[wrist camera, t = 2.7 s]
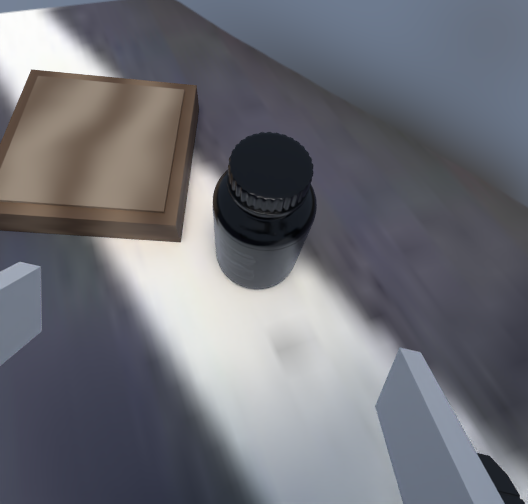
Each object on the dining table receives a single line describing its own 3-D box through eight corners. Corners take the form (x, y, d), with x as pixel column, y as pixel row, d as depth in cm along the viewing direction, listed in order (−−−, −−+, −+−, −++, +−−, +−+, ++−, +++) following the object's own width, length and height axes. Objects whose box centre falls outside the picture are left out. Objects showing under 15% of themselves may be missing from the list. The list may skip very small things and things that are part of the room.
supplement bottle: (308, 274, 30) (353, 198, 19) (232, 302, 29) (235, 237, 18) (276, 208, 33) (301, 107, 22) (205, 231, 31) (192, 133, 20)
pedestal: (198, 109, 36) (196, 82, 33) (180, 242, 30) (175, 223, 27) (46, 95, 35) (29, 66, 32) (-5, 229, 29) (-31, 209, 26)
